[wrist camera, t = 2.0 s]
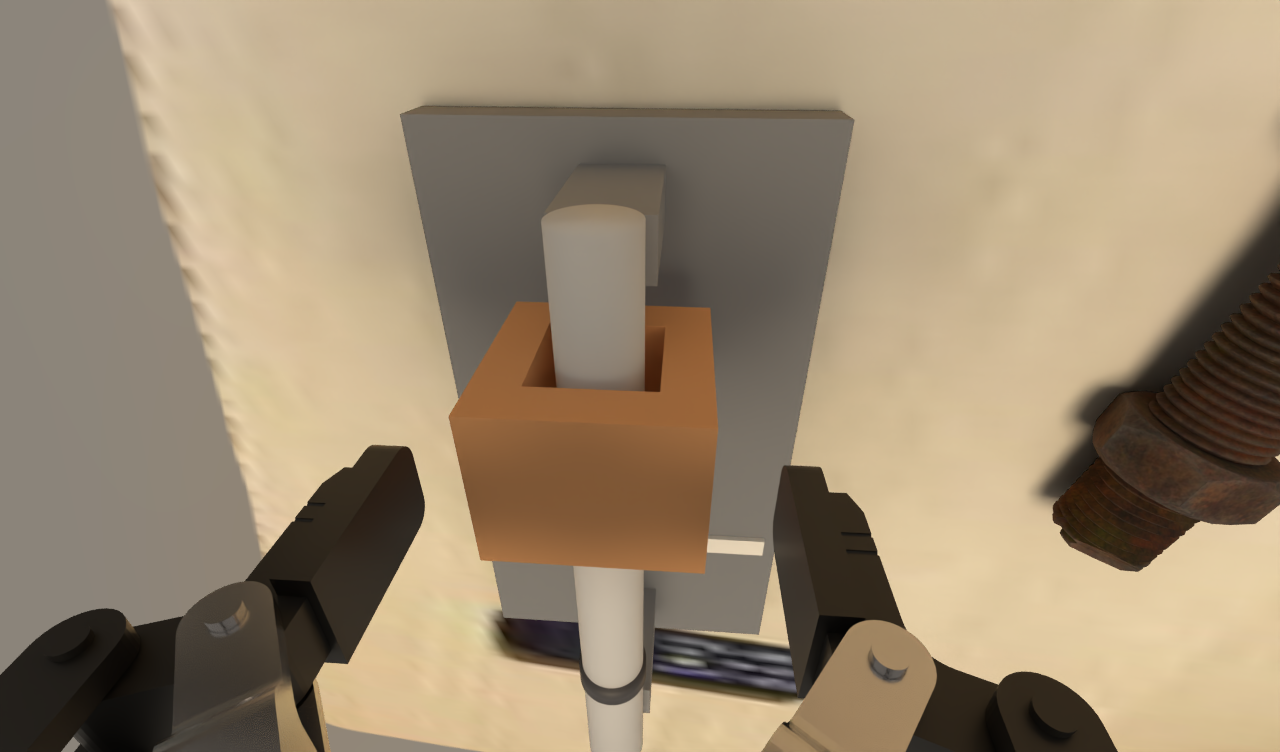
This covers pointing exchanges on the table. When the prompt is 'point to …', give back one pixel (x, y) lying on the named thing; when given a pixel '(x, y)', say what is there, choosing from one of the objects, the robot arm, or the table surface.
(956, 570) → the table surface
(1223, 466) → the bolt
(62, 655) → the robot arm
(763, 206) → the pipe stand
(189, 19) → the table surface
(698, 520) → the collar
